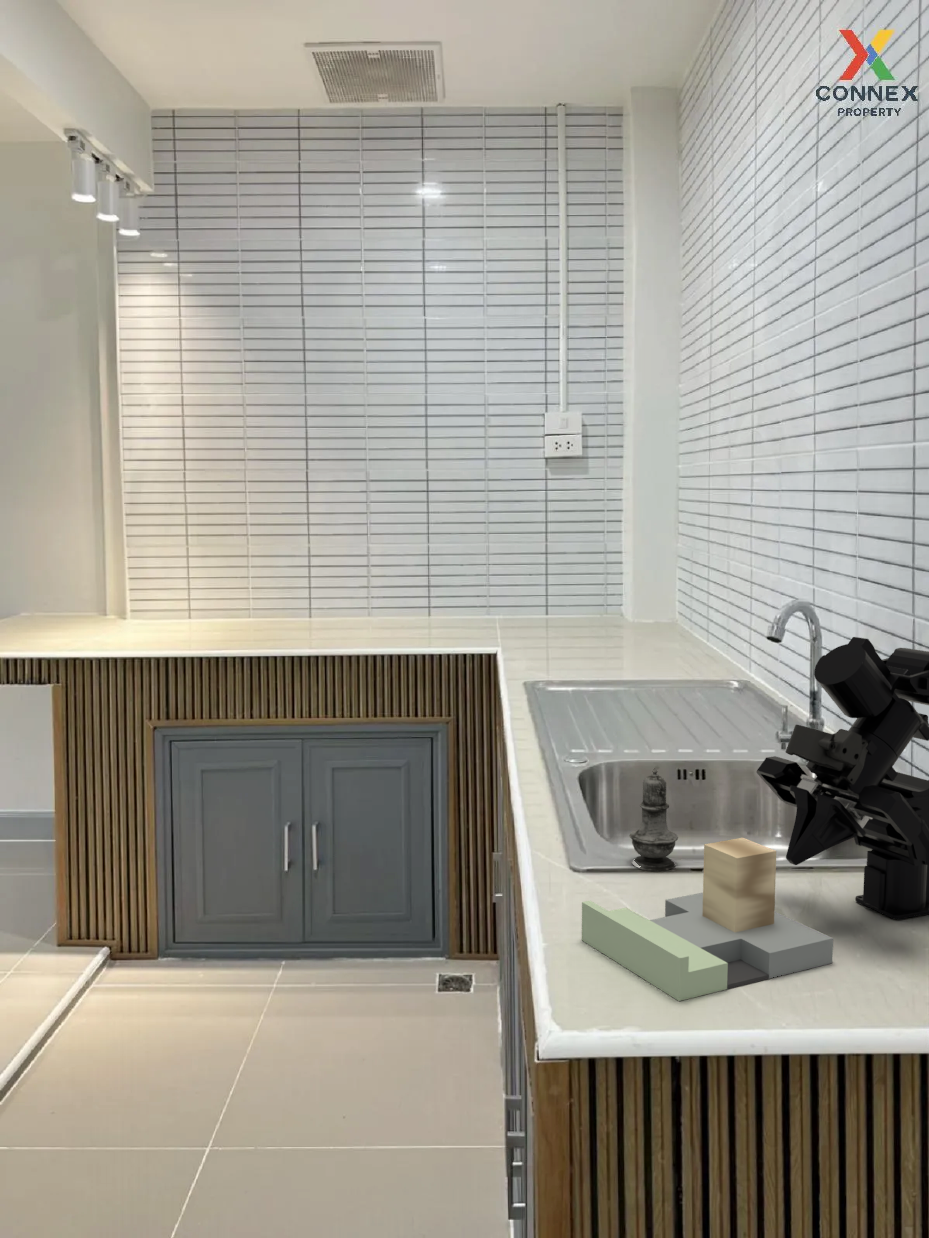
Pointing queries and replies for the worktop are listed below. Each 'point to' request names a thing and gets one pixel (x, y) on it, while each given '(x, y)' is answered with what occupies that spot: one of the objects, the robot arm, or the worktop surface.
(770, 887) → the beech block
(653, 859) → the salt shaker
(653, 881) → the worktop surface
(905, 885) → the robot arm
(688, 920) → the board
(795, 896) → the worktop surface
